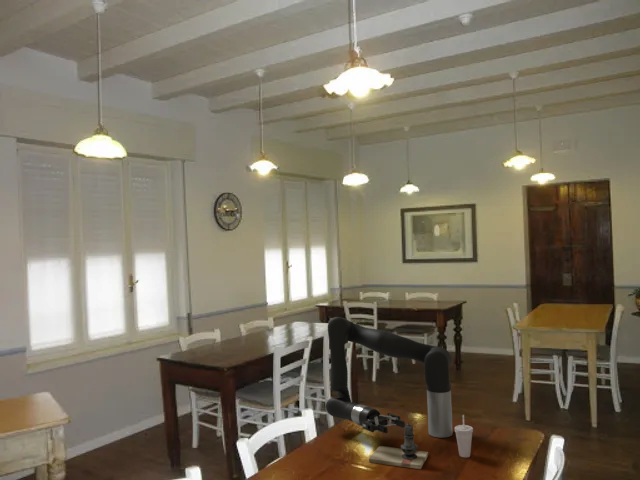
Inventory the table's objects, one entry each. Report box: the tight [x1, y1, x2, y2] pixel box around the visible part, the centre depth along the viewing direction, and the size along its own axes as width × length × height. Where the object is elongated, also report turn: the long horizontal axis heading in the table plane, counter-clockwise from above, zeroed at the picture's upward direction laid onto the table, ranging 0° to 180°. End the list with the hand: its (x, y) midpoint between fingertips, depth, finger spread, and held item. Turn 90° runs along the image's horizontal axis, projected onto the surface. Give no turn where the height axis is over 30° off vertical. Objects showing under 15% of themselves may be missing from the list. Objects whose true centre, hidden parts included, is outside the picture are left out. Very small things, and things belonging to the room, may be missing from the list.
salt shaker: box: [400, 421, 418, 460], centre depth 188 cm, size 6×6×12 cm
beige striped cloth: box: [368, 445, 429, 470], centre depth 189 cm, size 12×18×1 cm, turn 66°
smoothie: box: [454, 414, 474, 458], centre depth 190 cm, size 6×6×14 cm
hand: (395, 427), depth 193 cm, fingers open, 8 cm apart
